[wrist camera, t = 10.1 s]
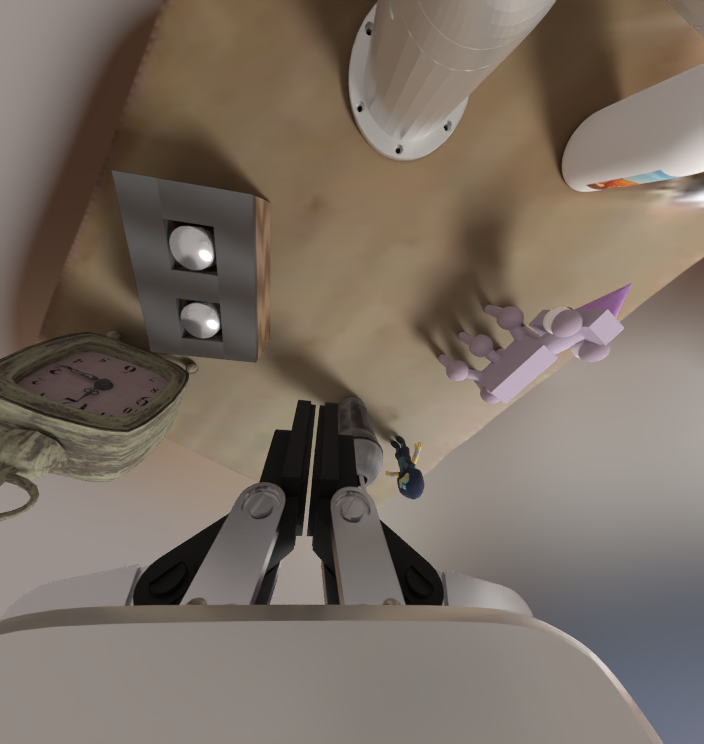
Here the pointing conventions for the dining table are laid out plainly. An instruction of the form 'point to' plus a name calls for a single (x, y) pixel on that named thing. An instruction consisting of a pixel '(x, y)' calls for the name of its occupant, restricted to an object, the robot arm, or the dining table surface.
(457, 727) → the robot arm
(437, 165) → the dining table surface
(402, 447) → the character figure
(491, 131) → the dining table surface
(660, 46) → the dining table surface
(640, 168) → the milk bottle
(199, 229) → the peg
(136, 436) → the tabletop clock
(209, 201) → the peg block
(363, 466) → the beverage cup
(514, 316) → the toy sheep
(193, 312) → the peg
